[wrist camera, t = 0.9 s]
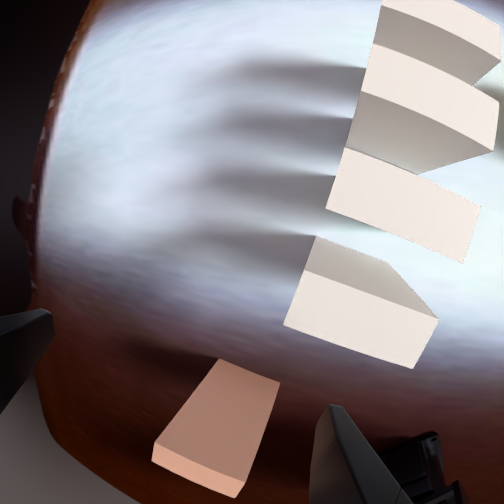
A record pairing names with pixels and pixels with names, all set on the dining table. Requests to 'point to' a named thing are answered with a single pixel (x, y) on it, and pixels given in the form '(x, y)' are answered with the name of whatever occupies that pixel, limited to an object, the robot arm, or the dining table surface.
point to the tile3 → (403, 204)
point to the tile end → (441, 36)
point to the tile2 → (360, 305)
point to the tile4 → (419, 114)
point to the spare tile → (218, 429)
